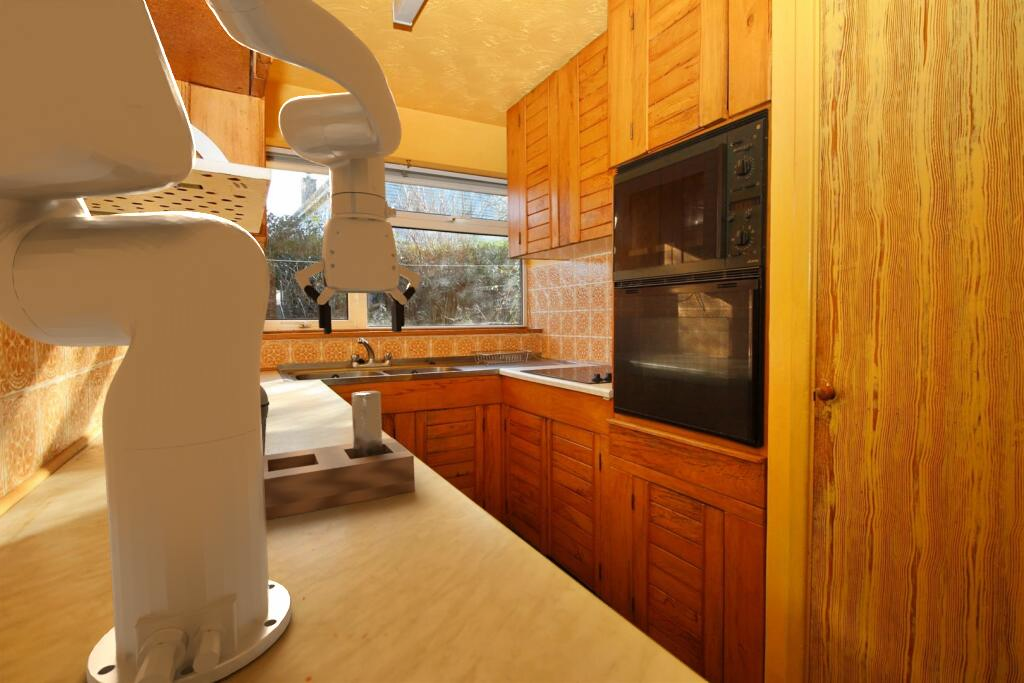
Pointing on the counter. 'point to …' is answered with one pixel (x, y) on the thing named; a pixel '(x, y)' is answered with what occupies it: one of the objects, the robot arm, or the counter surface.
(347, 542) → the counter surface
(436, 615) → the counter surface
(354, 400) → the steel pin
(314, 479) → the walnut block
